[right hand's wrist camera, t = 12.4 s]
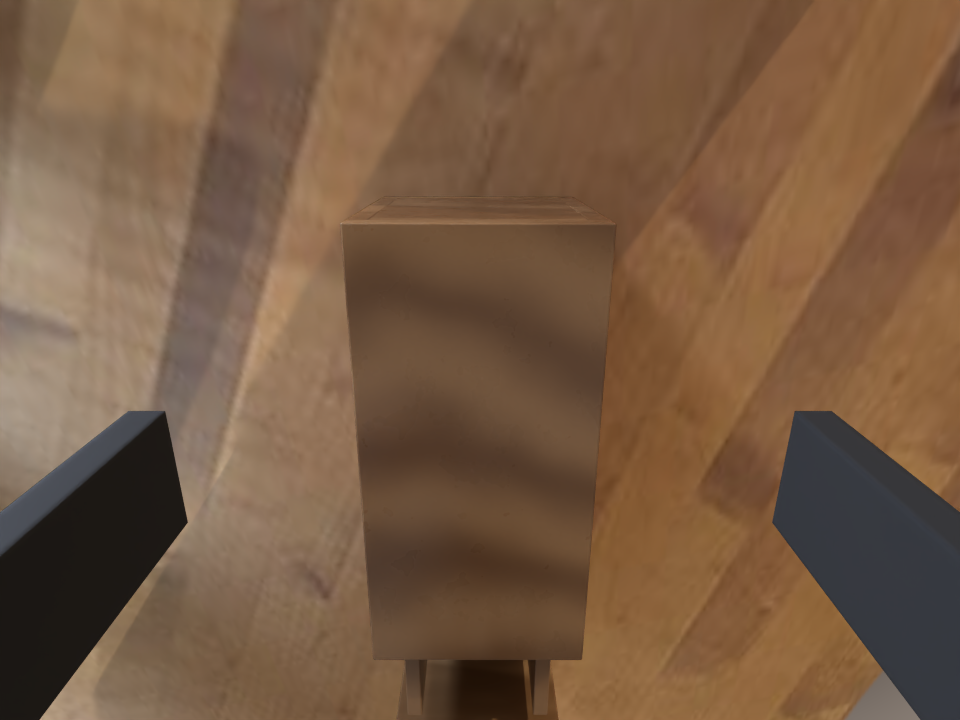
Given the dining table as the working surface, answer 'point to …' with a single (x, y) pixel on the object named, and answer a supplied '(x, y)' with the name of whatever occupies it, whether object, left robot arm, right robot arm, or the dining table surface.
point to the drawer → (477, 690)
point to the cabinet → (477, 419)
